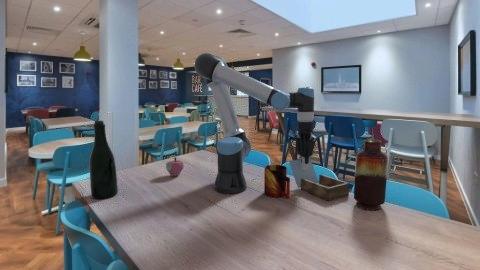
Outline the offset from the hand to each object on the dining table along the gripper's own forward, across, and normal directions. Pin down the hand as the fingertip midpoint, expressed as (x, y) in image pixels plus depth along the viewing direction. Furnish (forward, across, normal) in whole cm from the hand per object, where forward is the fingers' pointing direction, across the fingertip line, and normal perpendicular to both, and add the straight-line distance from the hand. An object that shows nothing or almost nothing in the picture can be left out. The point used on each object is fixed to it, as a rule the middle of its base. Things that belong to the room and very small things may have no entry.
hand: (304, 169), depth 129 cm
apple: (+7, +48, +49) cm, 69 cm away
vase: (+9, -31, -4) cm, 33 cm away
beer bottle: (+7, +36, +84) cm, 92 cm away
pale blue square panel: (+1, +1, 0) cm, 2 cm away
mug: (+8, -4, +18) cm, 20 cm away
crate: (+8, -12, 0) cm, 14 cm away
